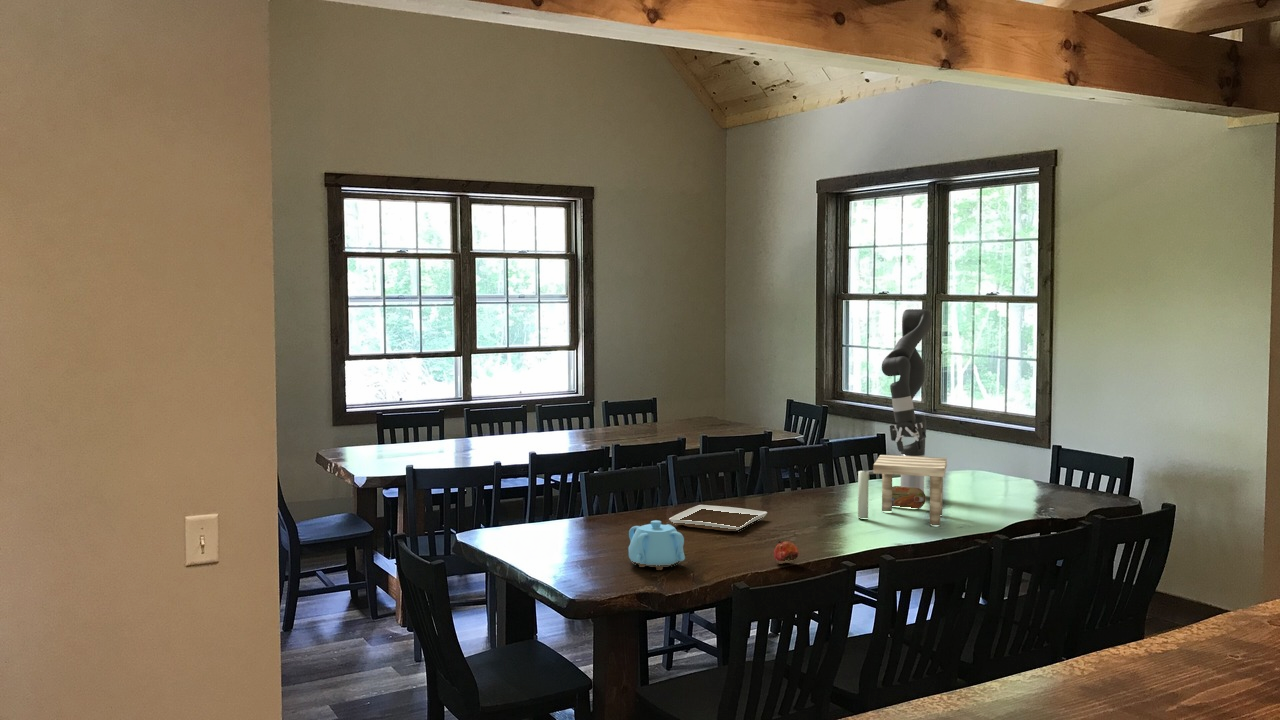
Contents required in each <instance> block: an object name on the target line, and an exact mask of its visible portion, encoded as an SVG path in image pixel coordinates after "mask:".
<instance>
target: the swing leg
mask: <svg viewBox="0 0 1280 720" xmlns="http://www.w3.org/2000/svg"><path fill="white" fill-rule="evenodd" d="M857 474H858V475H857V478H858V479H857V483H858V484H857V518H858V517H860V518H868V519H869V476H870V475H877V474H876V473H873V469H872V470H858V471H857Z"/></svg>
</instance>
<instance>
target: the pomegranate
mask: <svg viewBox="0 0 1280 720" xmlns="http://www.w3.org/2000/svg"><path fill="white" fill-rule="evenodd" d="M777 543H778V544H777V545H776V546H775V548H774V550H773V559H774V561H775V560H778V561H785V560H788V561H790V560H794V559H795V560H797V559H798V557H799V554H800V552H799V549H798V547H797V546H796V545H795V544H794V543H793V542H792V541H788V540H787V541H786V540H785V541H783V542H781V540H778V541H777ZM795 560H794V561H795Z"/></svg>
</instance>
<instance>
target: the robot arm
mask: <svg viewBox="0 0 1280 720" xmlns="http://www.w3.org/2000/svg"><path fill="white" fill-rule="evenodd" d="M932 324H933V315H932V313H931V311H930V310H929V309H926V308H925V309H924V308H920V309H919V308H918V309H916V308H915V309H913V308H912V309H911V308H910V309H905V310H904V311H903V313H902V318H901V336H902V337H900V339H899V340H898V341H897V343H896V344H895V347H894V348H893V350H892V351H890V352H889V354H887V355H886V357H884V358H883V360H882V363H881V371H882V373H883V374H884V375H885V376H886V377H895V376H896V377H897V376H899V379H898V380H897V381H895V382H892V383H891V384H890V386H889V387H890V389H889V390H890V394H891V401H892V402H891V403H892V405H891V406H892V409H893V410H892V411H893V416H894V421H895V423H896V424H892V425H890V426H889V431H890V432H889V433H890V440H891V441H892V442H893V441H894V442H895V443H896V447H897V450H898V452H899V453H900V456H917V457H926V452H925V451H926V438H927V420H926V419H927V418H926V416H924V414H915V413H916V412H915V409H914V408H915V407H914V403H913V402H914V401H913V399H914V398H915V396H916V395H917V394H918V392H919V391H920V390H921V389H922V387H923V385H924V382H925V373H926V368H925V367H926V365H925V362H924V360H923V358H922V356H921V354H920V353H919V351H918V350H917V348H916V347H917V346H918V345H919V344H920V343H921V341H922V340H923V338H925V336H926V335H927V334H928V333H929V331H930V330H931V328H932ZM903 438H913V439H915V441H913V442H911V443H909V444H906V445H905V444H904V443H903V441H902V440H903ZM900 486H903V487H916V488H919V489H921V490H922V491H923V492H924V493H925V476H915V475H900Z"/></svg>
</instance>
